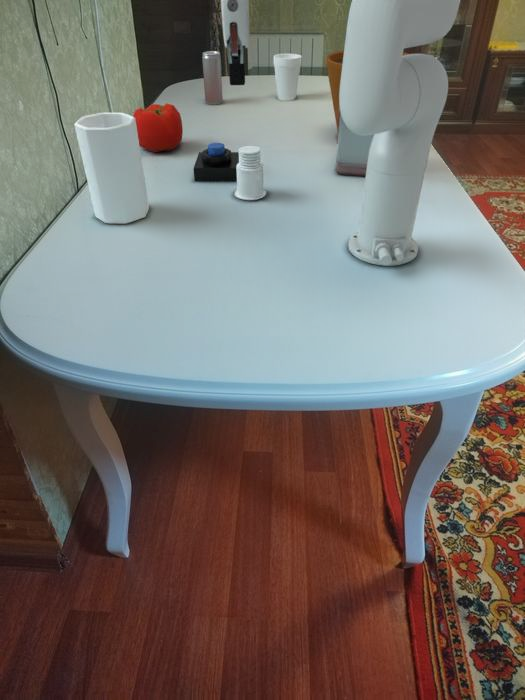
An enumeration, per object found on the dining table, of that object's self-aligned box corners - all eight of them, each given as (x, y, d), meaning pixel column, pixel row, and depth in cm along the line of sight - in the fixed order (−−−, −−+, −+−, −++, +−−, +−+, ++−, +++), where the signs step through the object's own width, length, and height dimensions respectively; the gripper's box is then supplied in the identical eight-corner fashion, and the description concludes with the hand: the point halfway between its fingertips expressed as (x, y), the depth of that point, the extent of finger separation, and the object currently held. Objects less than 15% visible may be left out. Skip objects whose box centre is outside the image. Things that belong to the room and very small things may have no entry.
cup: (92, 206, 109) (71, 115, 97) (144, 199, 112) (130, 109, 100) (98, 228, 101) (76, 131, 89) (154, 219, 104) (140, 125, 92)
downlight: (272, 198, 112) (272, 152, 105) (243, 204, 109) (241, 157, 103) (257, 185, 117) (256, 141, 111) (229, 191, 115) (226, 146, 109)
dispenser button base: (236, 181, 119) (236, 160, 116) (194, 181, 120) (192, 160, 116) (239, 164, 128) (238, 144, 125) (199, 164, 128) (198, 144, 125)
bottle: (374, 178, 121) (394, 30, 101) (331, 175, 122) (343, 29, 103) (376, 157, 132) (394, 21, 112) (336, 155, 133) (348, 20, 114)
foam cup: (269, 96, 180) (270, 54, 172) (294, 94, 182) (295, 52, 174) (278, 102, 173) (279, 59, 165) (303, 100, 175) (305, 57, 167)
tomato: (151, 160, 131) (145, 117, 124) (127, 147, 138) (120, 106, 132) (195, 149, 137) (192, 107, 130) (170, 137, 145) (165, 97, 138)
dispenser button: (224, 157, 119) (223, 148, 118) (207, 156, 119) (206, 148, 118) (225, 151, 122) (225, 142, 121) (209, 151, 122) (208, 142, 121)
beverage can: (203, 101, 175) (199, 51, 165) (219, 99, 177) (216, 50, 167) (208, 105, 171) (205, 55, 161) (225, 103, 173) (223, 53, 163)
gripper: (251, -20, 91) (254, 92, 102) (253, -25, 102) (255, 76, 114) (209, -19, 91) (217, 92, 103) (216, -24, 103) (222, 77, 114)
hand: (237, 84), depth 108 cm, fingers closed
